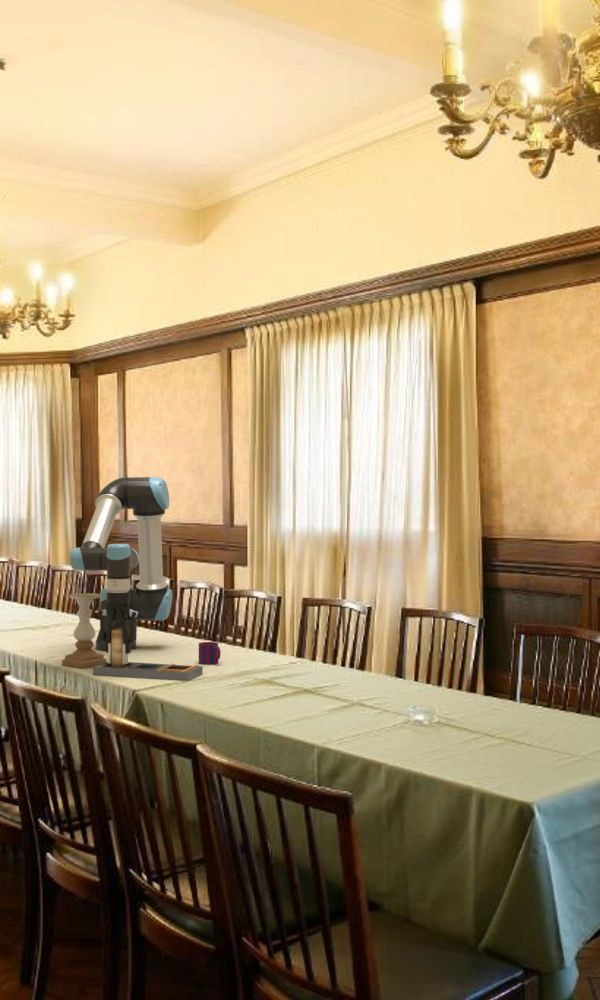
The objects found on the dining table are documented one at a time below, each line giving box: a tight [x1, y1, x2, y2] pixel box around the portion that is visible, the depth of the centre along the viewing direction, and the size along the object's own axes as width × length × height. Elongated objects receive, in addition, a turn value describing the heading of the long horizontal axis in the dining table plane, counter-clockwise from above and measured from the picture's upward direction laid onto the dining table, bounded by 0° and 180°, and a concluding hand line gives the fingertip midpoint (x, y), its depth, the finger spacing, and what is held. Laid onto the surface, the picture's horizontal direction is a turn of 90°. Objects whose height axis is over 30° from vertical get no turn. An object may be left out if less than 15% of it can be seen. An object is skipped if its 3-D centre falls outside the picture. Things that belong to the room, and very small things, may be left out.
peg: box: [111, 629, 125, 667], centre depth 328 cm, size 4×4×14 cm
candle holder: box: [61, 592, 108, 669], centre depth 343 cm, size 11×11×24 cm
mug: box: [198, 641, 222, 666], centre depth 346 cm, size 7×10×7 cm
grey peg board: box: [92, 661, 204, 682], centre depth 326 cm, size 12×33×3 cm, turn 74°
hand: (118, 662), depth 328 cm, fingers closed on peg, 4 cm apart
